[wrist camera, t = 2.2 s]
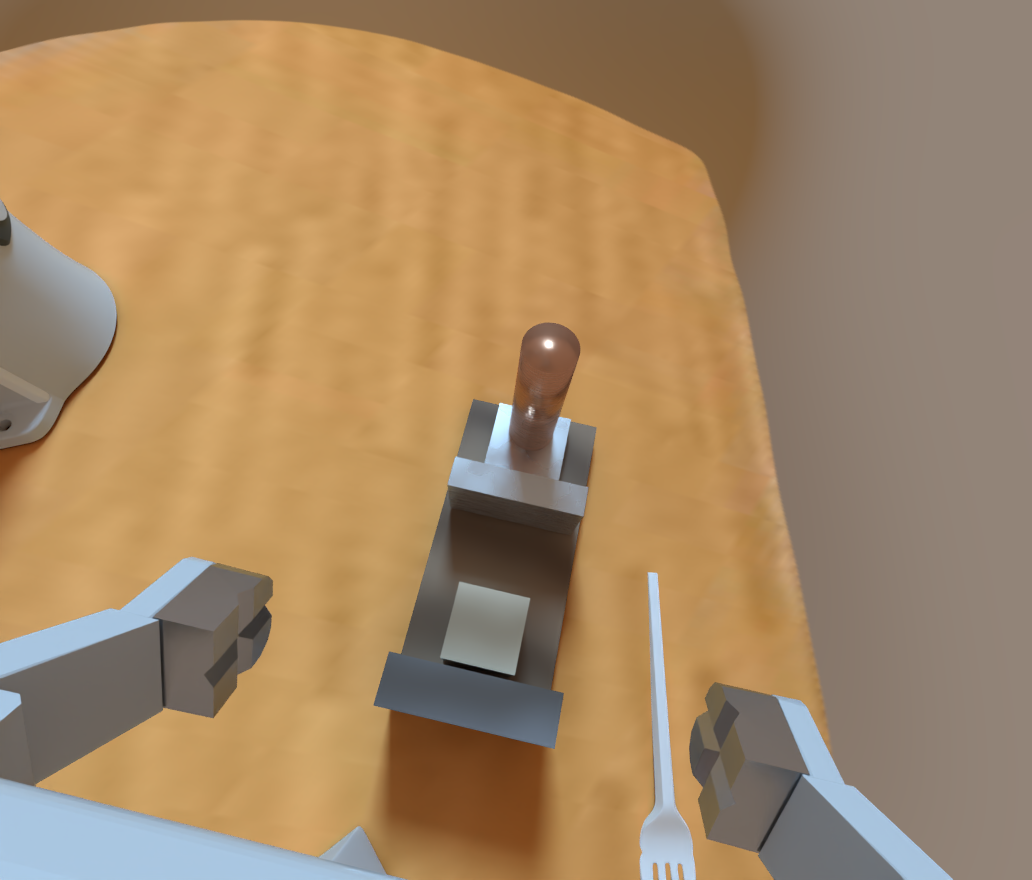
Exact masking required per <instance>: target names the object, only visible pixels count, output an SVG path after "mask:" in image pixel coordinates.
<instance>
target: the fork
mask: <svg viewBox="0 0 1032 880" xmlns="http://www.w3.org/2000/svg"><path fill="white" fill-rule="evenodd" d="M648 597H649V629H650V666H651V707H652V733H653V756H654V778H655V806H654V808H653V810H652V812H651V813H650V814H649V816H648V817H647V818H646V819H645V821H644V823H643V826H642V829H641V834H640V847H641V849H642V855H641V857H640V880H653V868H652V867H653V863H656V864H657V867H658V880H666V874H665V864H666V863H669V865H670V872H671V880H679V876H678V864H681V865H682V868H683V878H684V880H696V874H695V863H694V857H693V843H692V838H691V834H690V831H689V828H688V826H687V824H686V822H685V821H684V819H683V818H682V817H681V815H680V814H679V812H678V810H677V808H676V805H675V798H674V786H673V774H672V762H671V749H670V737H669V724H668V711H667V697H666V684H665V670H664V657H663V643H662V630H661V616H660V603H659V589H658V576H657V573H651V572H650V573H648Z"/></svg>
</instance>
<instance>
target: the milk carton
mask: <svg viewBox="0 0 1032 880" xmlns="http://www.w3.org/2000/svg"><path fill="white" fill-rule="evenodd" d="M319 858H323V859H327V860H331V861H335V862H339V863H343V864H347V865H351V866H355V867H359V868H363V869H367V870H371V871H375V872H378V873H382V874H386V872H385V871H384V869H383V867H382V865H381V863H380V861H379V859H378V857H377V855H376V853H375V851H374V849H373V847H372V845H371V843H370V842H369V840H368V838H367V836H366V834H365V832H364V830H363V829H362V828H361V827H360V826H358V827H357V828H355V829H354V830H353V831H352V832H350V833H349V834H348V835H346V836H345V837H344V838H343V839H341V840H340V841H339V842H338V843H336V844H335V845H334V846H333V847H331V848H330V849H329V850H328V851H326V852H325V853H324V854H322V855H321V856H320V857H319ZM386 875H387V874H386Z"/></svg>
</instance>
